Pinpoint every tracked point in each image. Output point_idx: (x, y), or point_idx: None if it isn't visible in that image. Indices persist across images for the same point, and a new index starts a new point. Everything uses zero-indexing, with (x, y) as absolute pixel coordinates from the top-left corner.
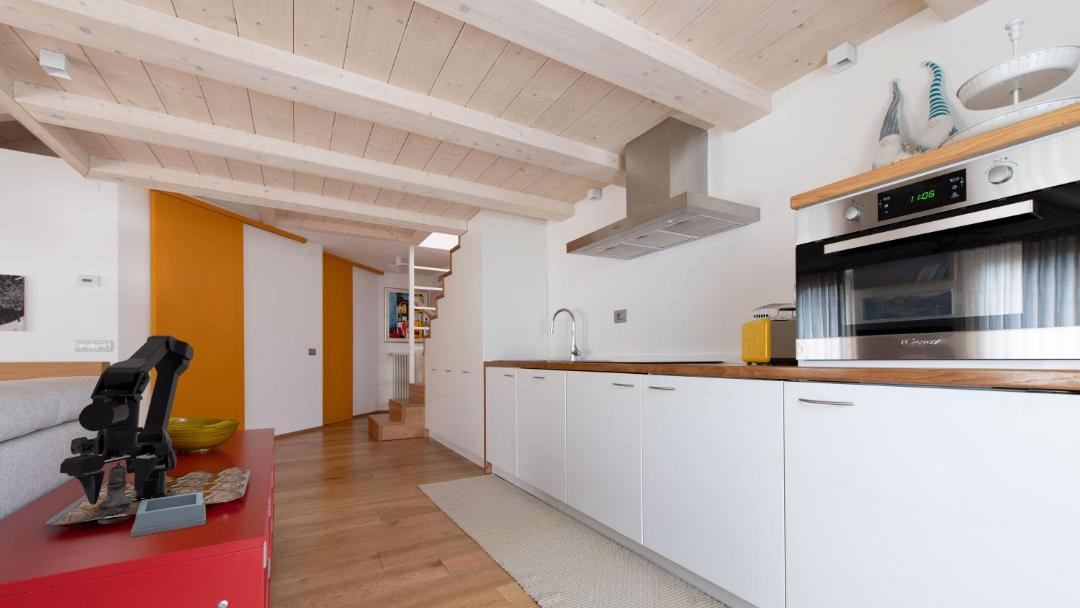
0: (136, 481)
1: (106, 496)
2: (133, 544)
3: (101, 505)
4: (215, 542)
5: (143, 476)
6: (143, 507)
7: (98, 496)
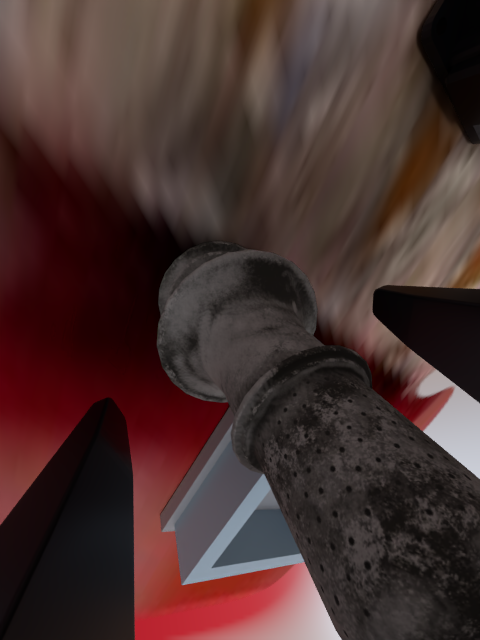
0: (434, 318)
1: (215, 357)
2: (144, 556)
3: (169, 361)
4: (232, 590)
5: (467, 386)
6: (234, 528)
7: (129, 483)
